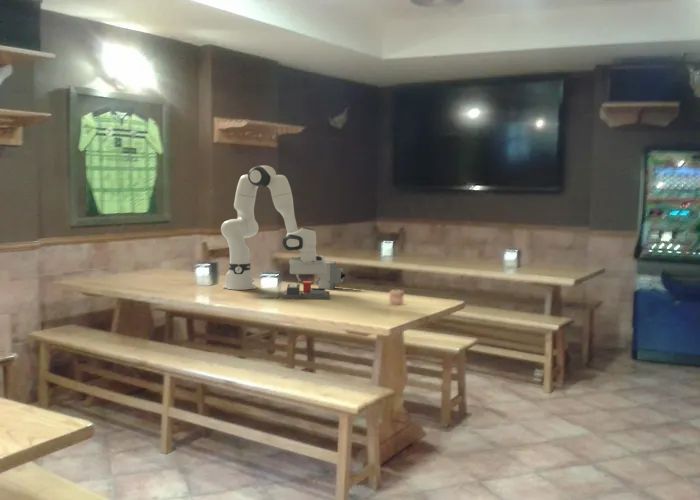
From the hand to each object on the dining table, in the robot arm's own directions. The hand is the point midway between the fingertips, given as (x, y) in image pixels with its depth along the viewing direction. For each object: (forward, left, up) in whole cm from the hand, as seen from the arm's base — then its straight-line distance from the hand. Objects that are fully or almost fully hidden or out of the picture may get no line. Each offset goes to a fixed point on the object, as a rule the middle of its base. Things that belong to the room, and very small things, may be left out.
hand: (308, 282), depth 374 cm
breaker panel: (+12, -1, -6) cm, 14 cm away
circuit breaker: (-18, +13, -6) cm, 23 cm away
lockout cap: (-1, -1, -6) cm, 6 cm away
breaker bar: (+12, -8, -3) cm, 15 cm away
